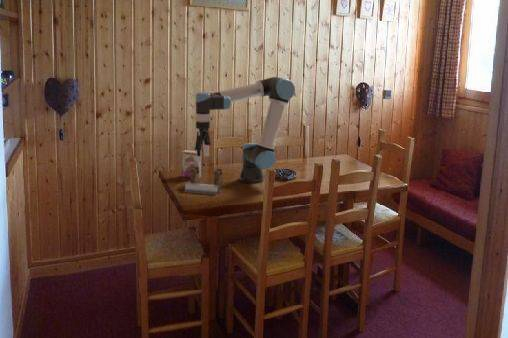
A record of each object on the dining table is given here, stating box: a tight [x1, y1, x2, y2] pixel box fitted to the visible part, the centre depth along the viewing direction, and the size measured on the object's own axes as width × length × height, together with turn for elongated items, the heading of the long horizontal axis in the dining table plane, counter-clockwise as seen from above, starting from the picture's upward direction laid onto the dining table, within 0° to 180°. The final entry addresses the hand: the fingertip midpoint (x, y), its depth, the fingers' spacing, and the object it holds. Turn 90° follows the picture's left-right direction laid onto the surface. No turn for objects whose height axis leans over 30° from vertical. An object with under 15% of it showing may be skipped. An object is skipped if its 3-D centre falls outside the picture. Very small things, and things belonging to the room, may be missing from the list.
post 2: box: [213, 167, 223, 189], centre depth 293 cm, size 3×7×11 cm, turn 168°
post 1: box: [190, 166, 200, 184], centre depth 296 cm, size 3×7×11 cm, turn 168°
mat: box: [183, 190, 219, 196], centre depth 285 cm, size 19×8×1 cm, turn 78°
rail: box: [183, 182, 221, 194], centre depth 285 cm, size 20×4×4 cm, turn 78°
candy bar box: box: [181, 149, 202, 179], centre depth 313 cm, size 11×5×16 cm, turn 70°
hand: (202, 158), depth 281 cm, fingers open, 13 cm apart
